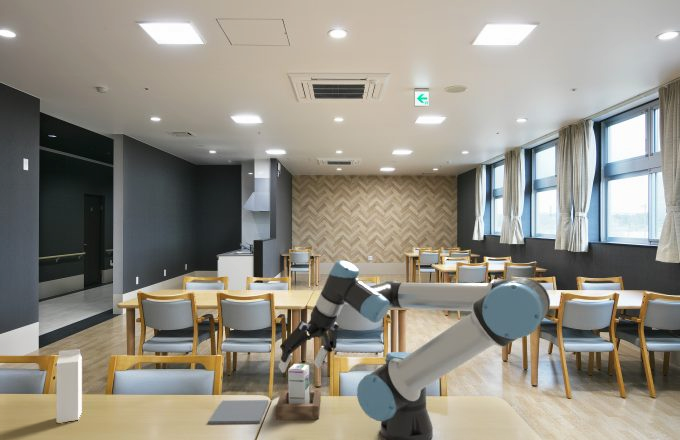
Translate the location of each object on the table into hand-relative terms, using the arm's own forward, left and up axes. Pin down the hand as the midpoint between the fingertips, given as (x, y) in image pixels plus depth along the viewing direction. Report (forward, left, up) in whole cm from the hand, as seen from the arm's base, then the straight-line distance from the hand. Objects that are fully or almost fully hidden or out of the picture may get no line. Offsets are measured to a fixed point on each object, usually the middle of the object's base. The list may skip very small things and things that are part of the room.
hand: (299, 367), depth 133 cm
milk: (+68, +31, -18) cm, 77 cm away
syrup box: (+7, -10, -18) cm, 22 cm away
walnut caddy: (+7, -10, -18) cm, 22 cm away
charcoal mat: (+23, +1, -18) cm, 29 cm away
